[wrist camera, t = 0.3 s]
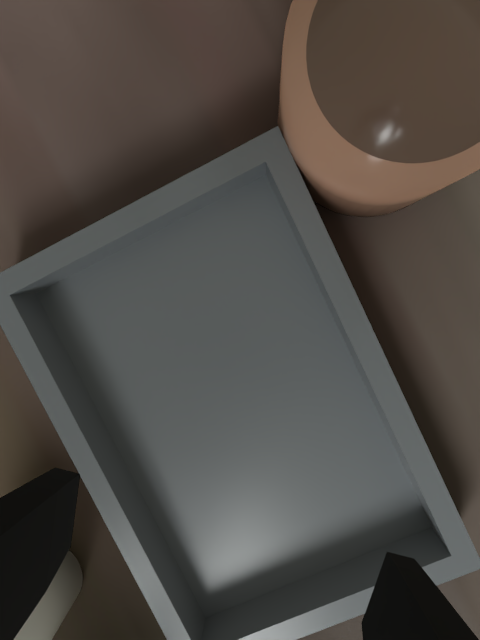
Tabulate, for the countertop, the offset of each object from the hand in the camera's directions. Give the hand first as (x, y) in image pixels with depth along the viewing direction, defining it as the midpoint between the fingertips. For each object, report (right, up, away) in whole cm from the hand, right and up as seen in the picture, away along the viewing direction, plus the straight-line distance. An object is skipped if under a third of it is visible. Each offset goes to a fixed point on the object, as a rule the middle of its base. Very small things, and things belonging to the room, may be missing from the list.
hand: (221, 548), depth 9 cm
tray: (0, +1, +10) cm, 10 cm away
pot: (+6, +14, +9) cm, 17 cm away
